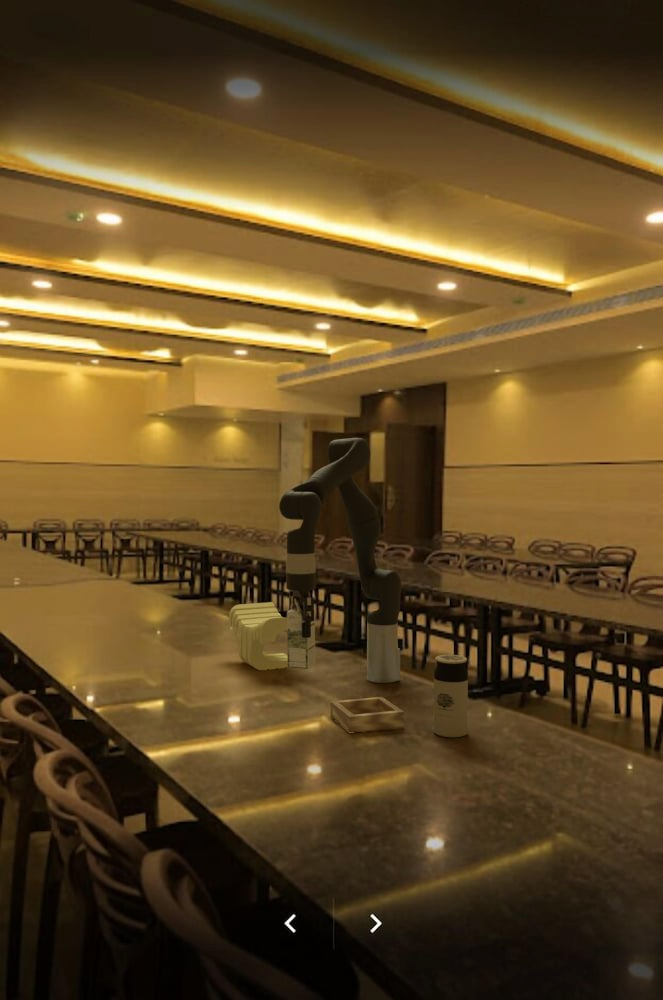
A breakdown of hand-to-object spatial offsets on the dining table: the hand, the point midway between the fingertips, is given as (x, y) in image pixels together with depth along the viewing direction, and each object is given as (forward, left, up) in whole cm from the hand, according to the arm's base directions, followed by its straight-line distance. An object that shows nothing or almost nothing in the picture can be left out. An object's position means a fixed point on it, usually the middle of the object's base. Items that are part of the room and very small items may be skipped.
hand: (301, 634), depth 202 cm
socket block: (-14, +10, -21) cm, 27 cm away
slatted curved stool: (-6, -58, -21) cm, 62 cm away
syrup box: (0, 0, -8) cm, 8 cm away
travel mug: (-30, +24, -21) cm, 44 cm away
